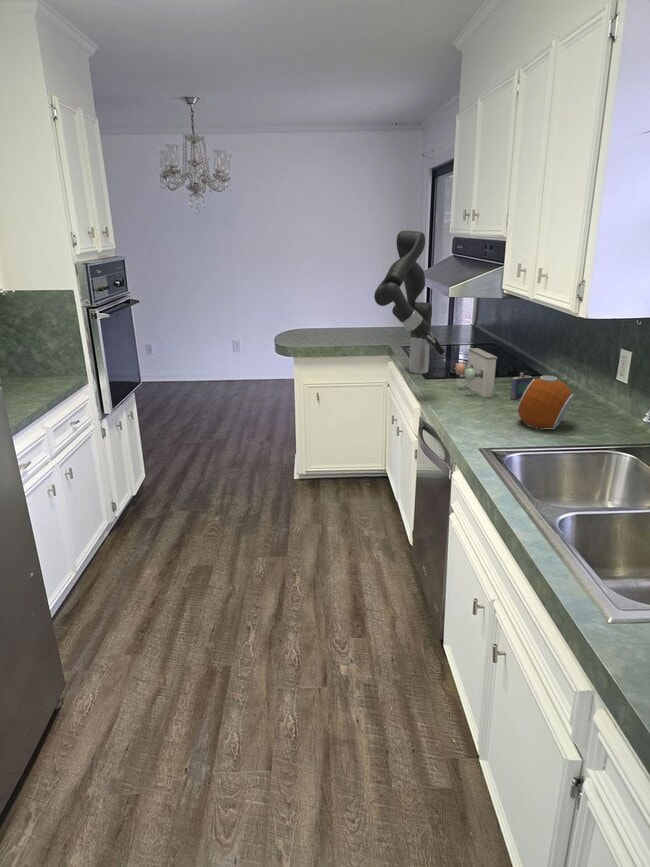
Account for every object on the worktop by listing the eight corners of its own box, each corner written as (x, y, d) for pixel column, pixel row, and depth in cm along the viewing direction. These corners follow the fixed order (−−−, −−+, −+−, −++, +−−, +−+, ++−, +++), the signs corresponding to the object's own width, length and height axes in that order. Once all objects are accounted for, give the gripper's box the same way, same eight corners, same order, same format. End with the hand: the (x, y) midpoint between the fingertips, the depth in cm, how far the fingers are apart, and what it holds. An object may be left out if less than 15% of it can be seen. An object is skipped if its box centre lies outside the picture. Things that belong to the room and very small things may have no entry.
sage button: (463, 379, 244) (464, 367, 242) (482, 378, 245) (483, 366, 243) (468, 382, 239) (469, 370, 237) (488, 380, 240) (489, 369, 239)
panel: (465, 385, 258) (468, 348, 252) (474, 385, 259) (477, 348, 253) (483, 397, 240) (487, 357, 235) (493, 397, 241) (497, 357, 235)
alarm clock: (525, 413, 221) (531, 368, 215) (574, 421, 211) (581, 374, 205) (509, 426, 206) (514, 379, 200) (560, 436, 196) (567, 386, 190)
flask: (512, 400, 237) (515, 374, 233) (507, 398, 239) (510, 372, 236) (531, 398, 240) (534, 372, 236) (526, 396, 242) (529, 371, 239)
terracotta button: (454, 373, 253) (455, 362, 251) (473, 372, 254) (474, 361, 253) (459, 376, 248) (460, 364, 247) (477, 375, 250) (478, 363, 248)
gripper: (427, 318, 223) (455, 349, 229) (416, 314, 235) (443, 343, 241) (413, 333, 224) (441, 363, 230) (403, 327, 236) (430, 356, 242)
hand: (442, 352), depth 235 cm, fingers closed
